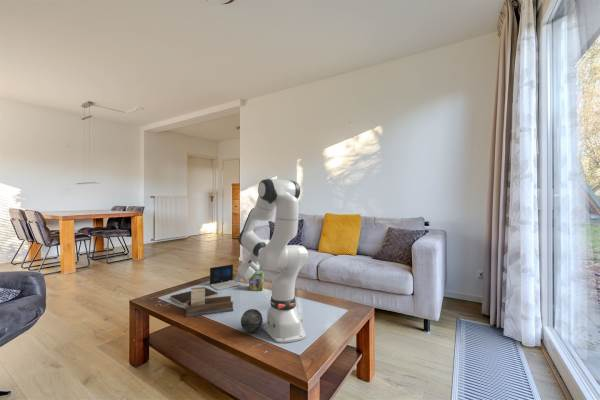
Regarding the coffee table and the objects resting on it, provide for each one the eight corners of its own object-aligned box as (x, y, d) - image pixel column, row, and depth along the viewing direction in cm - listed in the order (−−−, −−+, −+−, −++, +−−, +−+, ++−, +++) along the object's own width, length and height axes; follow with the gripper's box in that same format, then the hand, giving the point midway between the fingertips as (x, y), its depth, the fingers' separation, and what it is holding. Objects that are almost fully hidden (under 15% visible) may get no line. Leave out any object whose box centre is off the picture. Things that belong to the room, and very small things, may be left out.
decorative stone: (238, 328, 128) (239, 307, 128) (259, 324, 132) (259, 304, 132) (243, 338, 119) (243, 315, 119) (265, 334, 123) (265, 312, 123)
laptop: (217, 290, 182) (217, 271, 182) (209, 286, 191) (209, 267, 191) (241, 285, 194) (241, 267, 194) (232, 281, 203) (232, 264, 203)
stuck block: (204, 309, 147) (205, 290, 147) (190, 310, 144) (191, 291, 144) (204, 304, 153) (204, 286, 154) (191, 305, 151) (191, 287, 151)
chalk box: (262, 291, 182) (262, 269, 182) (248, 290, 182) (248, 268, 183) (264, 286, 191) (264, 265, 192) (251, 286, 192) (251, 265, 192)
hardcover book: (217, 296, 172) (218, 292, 172) (182, 306, 155) (182, 302, 155) (205, 290, 183) (205, 287, 183) (170, 299, 165) (170, 295, 165)
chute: (233, 311, 148) (233, 303, 148) (185, 317, 139) (185, 309, 139) (229, 300, 163) (230, 294, 163) (186, 305, 154) (186, 298, 154)
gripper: (245, 256, 167) (229, 273, 163) (252, 262, 148) (233, 282, 144) (252, 263, 169) (236, 280, 165) (260, 270, 150) (242, 289, 146)
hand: (235, 281), depth 154 cm, fingers closed
